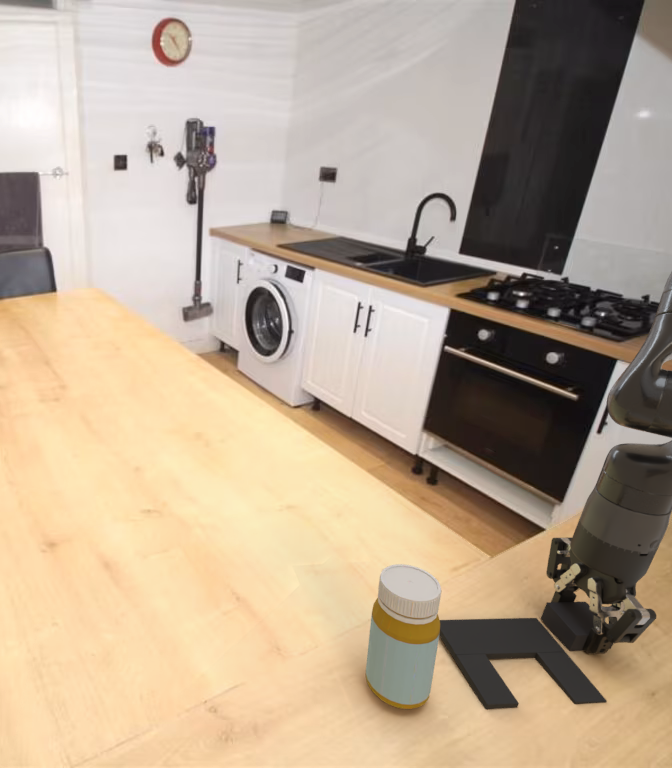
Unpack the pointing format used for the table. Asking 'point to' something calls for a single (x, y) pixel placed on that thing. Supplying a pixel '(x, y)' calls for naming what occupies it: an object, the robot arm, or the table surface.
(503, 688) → the u-shaped plate
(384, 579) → the bottle
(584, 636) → the dark rectangular block
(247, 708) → the table surface
